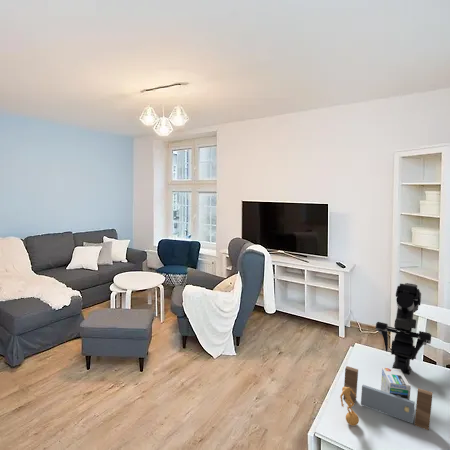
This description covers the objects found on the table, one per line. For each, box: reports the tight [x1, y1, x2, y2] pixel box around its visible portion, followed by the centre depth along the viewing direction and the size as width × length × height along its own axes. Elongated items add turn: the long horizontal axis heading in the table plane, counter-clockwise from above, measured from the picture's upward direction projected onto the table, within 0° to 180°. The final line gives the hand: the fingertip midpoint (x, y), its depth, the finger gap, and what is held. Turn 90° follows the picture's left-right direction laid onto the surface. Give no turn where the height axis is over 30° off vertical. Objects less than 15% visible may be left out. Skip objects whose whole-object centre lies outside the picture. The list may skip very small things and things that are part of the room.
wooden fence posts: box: [342, 365, 434, 431], centre depth 111 cm, size 2×26×12 cm, turn 56°
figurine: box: [339, 386, 360, 427], centre depth 106 cm, size 8×6×12 cm
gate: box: [360, 384, 416, 424], centre depth 110 cm, size 2×16×7 cm, turn 56°
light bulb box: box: [380, 366, 412, 400], centre depth 115 cm, size 11×7×11 cm, turn 168°
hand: (399, 354), depth 123 cm, fingers open, 9 cm apart
